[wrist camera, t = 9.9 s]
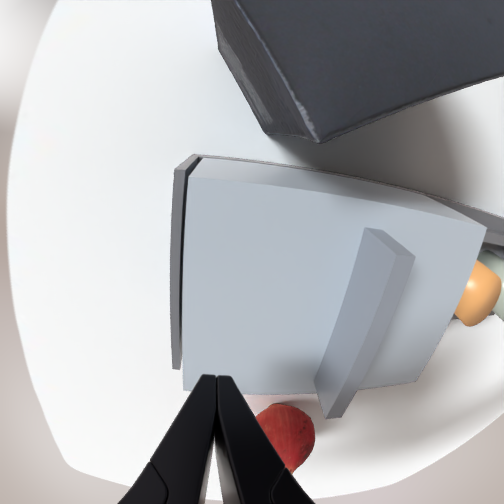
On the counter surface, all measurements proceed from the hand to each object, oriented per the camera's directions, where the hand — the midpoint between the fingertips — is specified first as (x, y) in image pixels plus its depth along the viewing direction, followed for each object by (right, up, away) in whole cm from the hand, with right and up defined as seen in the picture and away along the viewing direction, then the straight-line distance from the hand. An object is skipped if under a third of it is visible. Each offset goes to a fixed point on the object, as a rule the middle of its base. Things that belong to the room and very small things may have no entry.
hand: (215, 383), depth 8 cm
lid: (+5, +3, +10) cm, 11 cm away
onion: (+3, -11, +17) cm, 21 cm away
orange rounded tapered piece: (+16, +3, +11) cm, 19 cm away
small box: (+5, +15, +6) cm, 17 cm away
